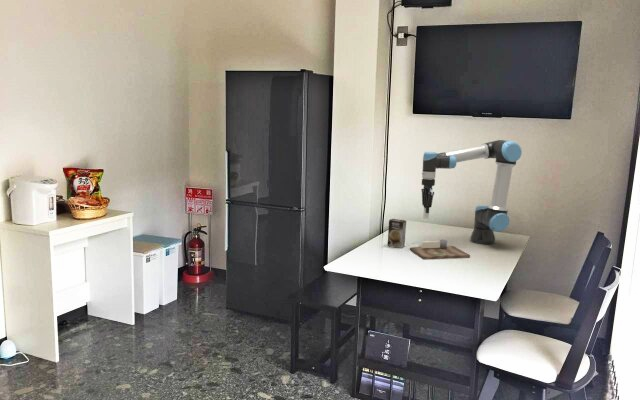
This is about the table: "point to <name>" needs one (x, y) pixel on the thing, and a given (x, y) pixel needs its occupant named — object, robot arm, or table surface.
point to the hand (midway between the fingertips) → (426, 218)
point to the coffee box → (396, 233)
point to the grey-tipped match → (435, 244)
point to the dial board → (439, 253)
